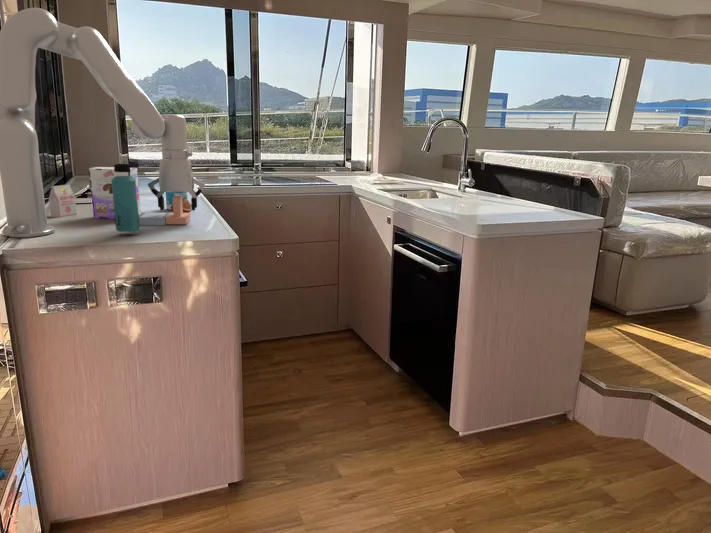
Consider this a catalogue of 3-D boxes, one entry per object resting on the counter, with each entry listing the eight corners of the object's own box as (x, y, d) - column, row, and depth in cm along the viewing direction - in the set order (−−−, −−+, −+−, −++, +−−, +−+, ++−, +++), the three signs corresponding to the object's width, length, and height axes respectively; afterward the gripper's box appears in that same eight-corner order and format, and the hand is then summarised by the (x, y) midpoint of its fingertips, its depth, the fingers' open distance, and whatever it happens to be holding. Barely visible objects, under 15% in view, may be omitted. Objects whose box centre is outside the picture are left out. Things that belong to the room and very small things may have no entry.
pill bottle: (175, 211, 191) (173, 173, 188) (162, 209, 195) (159, 171, 192) (192, 209, 198) (190, 172, 194) (178, 207, 201) (176, 170, 198)
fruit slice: (184, 216, 183) (183, 202, 181) (166, 215, 184) (165, 201, 183) (195, 212, 191) (195, 198, 189) (178, 211, 192) (177, 197, 191)
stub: (186, 224, 168) (184, 198, 166) (166, 224, 168) (164, 198, 165) (190, 219, 177) (189, 194, 175) (171, 219, 176) (170, 194, 174)
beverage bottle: (145, 233, 155) (140, 163, 150) (131, 238, 149) (125, 165, 144) (125, 231, 156) (119, 162, 151) (110, 236, 150) (103, 164, 145)
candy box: (142, 217, 179) (138, 167, 175) (133, 220, 173) (129, 169, 169) (102, 215, 180) (98, 166, 176) (92, 218, 175) (87, 167, 170)
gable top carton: (51, 216, 176) (47, 186, 173) (68, 213, 182) (65, 184, 179) (59, 217, 174) (55, 186, 172) (76, 214, 180) (73, 184, 178)
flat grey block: (165, 225, 168) (164, 217, 167) (128, 225, 166) (127, 217, 165) (170, 219, 176) (170, 212, 175) (135, 219, 175) (135, 212, 174)
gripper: (205, 155, 172) (207, 208, 176) (148, 154, 169) (152, 207, 174) (202, 156, 164) (204, 212, 169) (143, 155, 162) (147, 211, 166)
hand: (178, 209), depth 171 cm, fingers open, 9 cm apart
